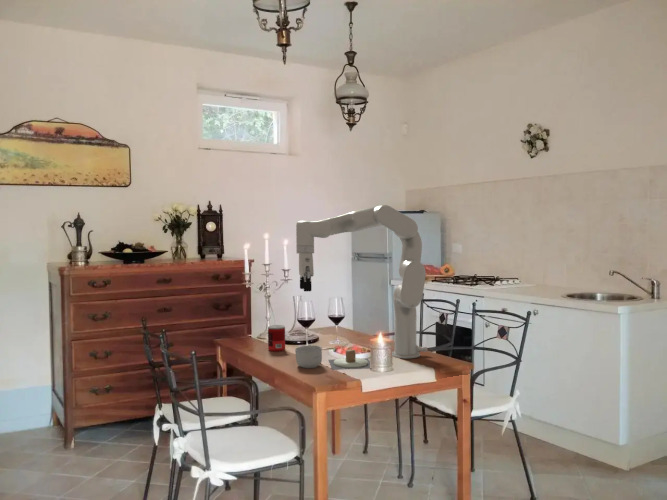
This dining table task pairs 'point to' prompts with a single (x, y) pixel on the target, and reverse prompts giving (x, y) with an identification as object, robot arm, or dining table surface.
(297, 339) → the dining table surface
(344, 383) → the dining table surface
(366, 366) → the mat
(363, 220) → the robot arm
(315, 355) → the teacup
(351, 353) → the lid
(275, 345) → the canned food
